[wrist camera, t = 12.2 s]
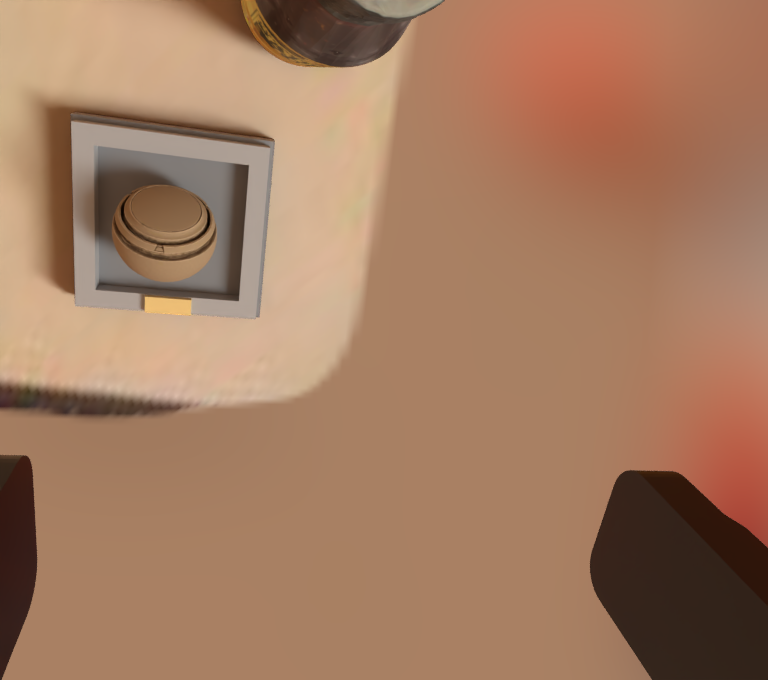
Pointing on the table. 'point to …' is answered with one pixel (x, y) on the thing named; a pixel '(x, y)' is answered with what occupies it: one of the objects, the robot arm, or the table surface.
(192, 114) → the table surface
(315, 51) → the sauce bottle
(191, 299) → the grey square tray
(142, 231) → the door knob
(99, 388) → the table surface
